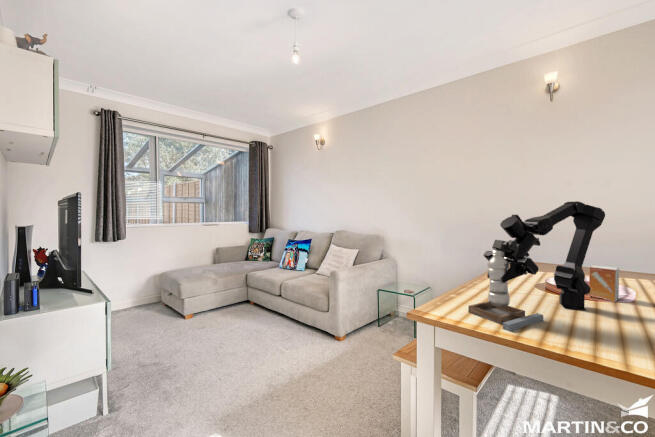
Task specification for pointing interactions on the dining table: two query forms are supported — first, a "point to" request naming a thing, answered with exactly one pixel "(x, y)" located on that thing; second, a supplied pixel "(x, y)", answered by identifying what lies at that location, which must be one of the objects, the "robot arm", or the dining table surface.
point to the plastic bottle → (498, 279)
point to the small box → (604, 282)
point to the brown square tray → (496, 312)
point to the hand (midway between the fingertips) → (495, 279)
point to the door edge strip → (522, 321)
